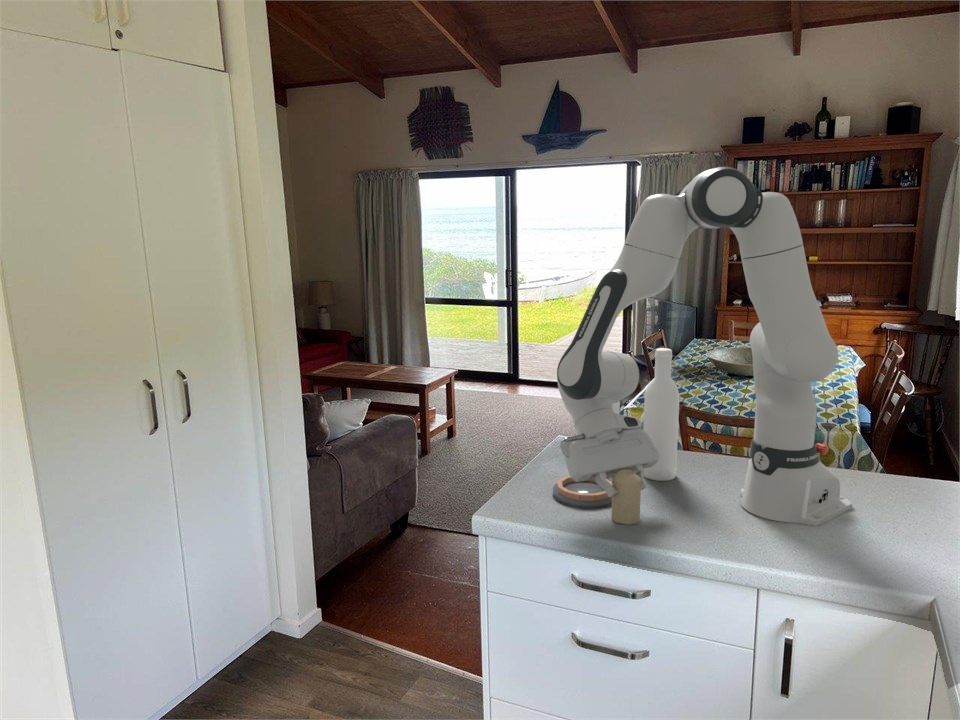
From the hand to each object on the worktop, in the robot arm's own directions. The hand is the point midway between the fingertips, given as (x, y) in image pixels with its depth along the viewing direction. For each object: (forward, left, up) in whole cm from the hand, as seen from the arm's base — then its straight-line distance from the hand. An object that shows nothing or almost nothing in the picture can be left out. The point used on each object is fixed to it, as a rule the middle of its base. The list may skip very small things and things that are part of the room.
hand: (628, 492), depth 130 cm
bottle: (-22, -17, -6) cm, 28 cm away
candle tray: (0, -15, -6) cm, 16 cm away
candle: (0, -1, -6) cm, 6 cm away
